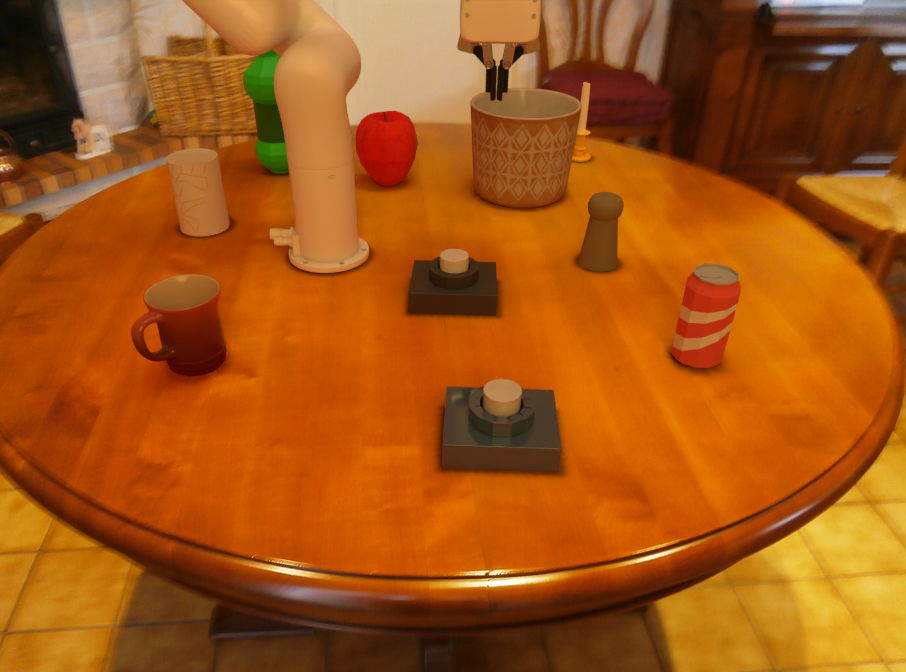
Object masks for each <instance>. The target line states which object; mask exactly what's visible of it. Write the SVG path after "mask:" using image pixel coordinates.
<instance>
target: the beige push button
mask: <svg viewBox="0 0 906 672" xmlns="http://www.w3.org/2000/svg"><path fill="white" fill-rule="evenodd" d="M483 386H484V388H483V408H484V410H485V411H486V412H487V413H490V414H492V415H495V416H511V415H514V414H516V413H518V412H519V410H520V408H521V397H522V389H521V388H522V387H521V386H520V384H519V383H517V382H516V381H513V380H511V379H507V378H495V379H492V380H489V381H488V382H486V383H485V384H484V385H483Z"/></svg>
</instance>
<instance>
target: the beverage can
mask: <svg viewBox="0 0 906 672" xmlns="http://www.w3.org/2000/svg"><path fill="white" fill-rule="evenodd" d="M693 269H694V270H693V271H692V272H691V273H690V275H689V276H688V277H687V278H686V283H685V286H684V287H685V288H684V292H683V296H682V300H681V304H680V310H679V313H678V318H677V323H676V326H675V332H674V334H673V335H674V336H673V340H672V344H671V349H670V350H671V351H670V354H671V356H673V357H674V358H675V359H676V360H677V361H678V362H679V363H681V364H682V365H684V366H687V367H689V368H692V369H708V368H713V367H715V366H717V365H719V364H722V361H723V357H724V355H725V350H726V347H727V343H728V340H729V336H730V332H731V330H732V329H731V328H732V326H733V322H734V318H735V314H736V311H737V308H738V304H739V300H740V296H741V292H742V291H741V290H742V289H741V288H742V286H741V283H740V282H741V281H740V273H739V272H738V271H737V270H735V269H734V268H732V267H731V266H728V265H723V264H720V263H701V264H699V265H696V266H694V268H693Z"/></svg>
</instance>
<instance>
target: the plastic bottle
mask: <svg viewBox="0 0 906 672" xmlns="http://www.w3.org/2000/svg"><path fill="white" fill-rule="evenodd" d="M279 59H280V56H279V55H278V54H277V53H276V52H275V51H274V50H270V51H268V52H266V53H264V54H261V55H257V56H256V58H255V59H253V61H251V63H250V64H249V65H248V66H247V67H246V69H245V70H244V72H243V76H242V83H243V84H242V85H243V88H244V90H245V94H246V95H247V96H248V97H249V98H250V100H251V101H252V104H253V111H254V118H255V127H256V133H257V138H256V141H255V144H254V153H255V156H256V158H257V160H258V162H259V163H260V164H261V165H262V166H263V167H264V168H266V170H268V171H270V173H274V174H276V175H277V174H289V168H288V161H287V153H286V145H285V137H284V131H283V126H282V121H281V117H280V113H279V109H278V105H277V101H276V97H275V91H274V73H275V69H276V66H277V63H278V61H279Z"/></svg>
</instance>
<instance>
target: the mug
mask: <svg viewBox="0 0 906 672" xmlns="http://www.w3.org/2000/svg"><path fill="white" fill-rule="evenodd" d="M221 293H222V285H221V283H220V281H218V280H217V279H216V278H214V277H212V276H210V275H206V274H200V273H183V274H178V275H173V276H168V277H165V278H162V279H159V280H158V281H156V282H154V283H153V284H151V285H150V286H148V287H147V288H146V289H145V291H144V293H143V294H142V295H143V297H142V299H143V303H144V305H145V307H146V308H147V310H148V311H147V312H146V313H144V314H143V315H141V316H140V317H139V318H137V319H135V321H134V322H133V324H132V326H131V330H130V335H131V340H132V343H133V345H134V348H135V350H136V351H137V352H138V353H139V355H141V357H143V358H144V359H145V360H147V361H151V362H157V363H158V362H165V363H166V364H167V366H168V368H169V369H170V370H171V371H172V372H173V373H175V374H176V375H178V376H179V375H180V376H183V377H187V378H188V377H189V378H190V377H191V378H193V377H194V378H195V377H202V376H207V375H209V374H211V373H213V372H215V371H217V370H218V369H219V368H220V367H221V366H222V365H224V363H225V362H226V360H227V352H228V348H227V339H226V336H225V331H224V326H223V322H222V319H221V314H220V313H221V312H220V299H221ZM155 323H156V326H157V329H158V336H159V339H160V344H161V348H159V349H158V350H157V351H154V352H152V351H150V349H149V347H148V346H147V343H146V340H145V337H144V336H145V335H144V334H145V330H146V328H147V327H148V326H150V325H151V324H155Z"/></svg>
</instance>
